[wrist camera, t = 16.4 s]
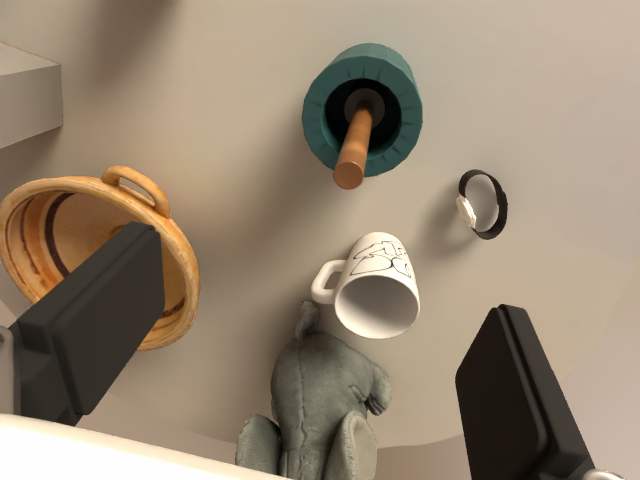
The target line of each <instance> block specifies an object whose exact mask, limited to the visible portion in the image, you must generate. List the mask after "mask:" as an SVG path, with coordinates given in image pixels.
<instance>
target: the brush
mask: <svg viewBox="0 0 640 480" xmlns="http://www.w3.org/2000/svg"><path fill="white" fill-rule="evenodd" d="M343 111H344V116H345V119H346V121H347V122H348V124H349V128H348V131H347V134H346V137H345V140H344V143H343V146H342V149H341V152H340V154H339V157H338V160H337V163H336V166H335V169H334V173H333V177H334V180H335V182H336V184H337V185H338V186H340V187H341V188H343V189H354V188H356V187H358V186H359V185H360V184H361V183H362V181H363V177H364V171H365V164H366V158H367V151H368V145H369V139H370V132H371V130H372V129H374V128H376V127H377V126H378V125H379V124H380V123H381V122H382V120H383V119H384V116H385V112H386V91H385V89H384V87H383V85H382V84H381V83H380V82H378V81H375V80H370V79H366V78H365V79H361V80H359V81H357V82H356V83H355V84H354V85H353V86H352V88H351V90H350V92H349V94H348V96H347V98H346V100H345V103H344V108H343Z"/></svg>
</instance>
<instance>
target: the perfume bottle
mask: <svg viewBox="0 0 640 480" xmlns="http://www.w3.org/2000/svg"><path fill="white" fill-rule="evenodd" d="M62 125H63V115H62V92H61V70H60V64H58V63H55V62H52V61H50V60H47V59H44V58H42V57H39V56H36V55H34V54H31V53H28V52H26V51H23V50H20V49H18V48H15V47H12V46H10V45H7V44H4V43H1V42H0V148H3V147H6V146H8V145H11V144H14V143H16V142H19V141H22V140H25V139H27V138H30V137H33V136H35V135H38V134H41V133H43V132H46V131H49V130H51V129H54V128H57V127H59V126H62Z"/></svg>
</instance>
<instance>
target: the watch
mask: <svg viewBox="0 0 640 480" xmlns="http://www.w3.org/2000/svg"><path fill="white" fill-rule="evenodd" d="M478 174H484V175H487V176H488V177H489V178H490V179H491V181H492V183H493V185H494V188H495V191H496V195H497V204H498V205H499V214H498V218H497V221H496V222H495V224H494V225H493V226H492V227H491V228H490V229H489V230H487V231H485V232H478V231H476V229H475V224H476V216H474V213H473V210H472V208H471V206H470V204H469V203H468V201H467V200H466V196H465V187H466V184H467V182H468V180H469V179H470V178H471V177H473V176H475V175H478ZM458 194H459V198H457V200H456V203H457V207H458V210H459V212H460V214H461V216H462V218H463V220H464V221H465V222H466V224H467V225H469V226H470V227H471V228H472V229H473V230H474V232H475V233H476V234H477V235H478V236H479V237H481V238H482V239H486V240H489V239H493V238H495V237H496V236H497V235H499V234H500V233H501V231H502V230H503V228H504V226H505V224H506V219H507V205H508V203H507V199H506V194H505V193H504V192H503V191H502V188H501V186H500V184H499V183H498V181H497V180H496V179H495V178H493V177H492V176H491V175H489V174H487V173H485V172H483V171H481V170H470V171H468V172H466V173H465V174H464V175H463V176H462V177H461V180H460V182H459V193H458Z"/></svg>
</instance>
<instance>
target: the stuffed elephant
mask: <svg viewBox="0 0 640 480" xmlns="http://www.w3.org/2000/svg"><path fill="white" fill-rule="evenodd" d="M299 315H300V317H299V320H298V321H297V323H296V325H295V327H294V336H295V338H293V339H292V341H290V342H289V343H288V344H287V345H286V346H285V347H284V348H283V350H282V351H281V353H280V355H279V356H278V358H277V361H276V363H275V366H274V370H273V373H272V377H271V395H272V400H271V406H272V415H273V419H275V421H276V422H278V423H279V426H278V425H276V424H275V423H274V422H273V421H271V420H270V419H269V418H267V417H265V416H262V415H258V414H252V415H250V417H249V418H248V420H246V421H245V424H246V425H245V426H244V427H243V429H242V431H241V432H240V433H241V434H240V436H239V438H238V440H237V451H236V458H235V462H236V466H240V467H245V468H249V469H253V470H257V471H261V472H265V473H269V474H273V475H277V476H281V477H285V478H289V479H293V480H373V478H374V476H375V472H376V465H377V448H376V439H375V437H374V434H373V431H372V429H371V427H370V425H369V424H368V422H367V411H368V410H370V411H371V413H372V414H374V415H378V416H379V415H380V414H382V413H383V412H385V411H386V409H387V408H388V405H389V404H390V401H391V390H390V389H391V381H390V379H389V377H388V375H387V374H386V373H385V372H384V371H383V370H382V369H381V368H380V367H379V366H377V365H375V364H374V363H373V362H372V361H370V360H369V359H367V358H366V357H365V356H364V355H363V354H361V353H360V352H358V351H356V350H355V349H353V348H350V347H349V346H347V345H346V344H345V343H344V342H343V341H341V340H338V339H337V338H335V337H333V336H332V335H329V334H328V333H326V332H324V331H316V330H315V328H316V325H317V323H318V318H319V310H318V308H317V307H315V306H314V305H313V303H312V302H308V301H306V302H302V304H301V306H300V310H299Z"/></svg>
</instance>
